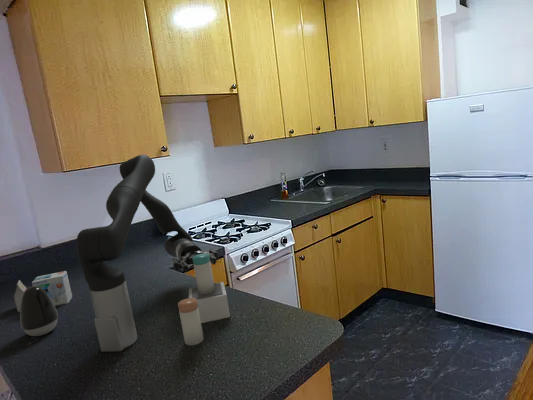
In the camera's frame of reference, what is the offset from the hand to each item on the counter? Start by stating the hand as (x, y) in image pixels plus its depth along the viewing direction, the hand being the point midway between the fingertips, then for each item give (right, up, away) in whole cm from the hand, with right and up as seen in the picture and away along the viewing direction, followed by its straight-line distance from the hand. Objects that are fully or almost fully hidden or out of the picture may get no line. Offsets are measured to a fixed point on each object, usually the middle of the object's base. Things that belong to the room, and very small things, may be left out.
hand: (200, 265), depth 119 cm
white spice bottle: (+1, -18, -15) cm, 23 cm away
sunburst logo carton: (-71, -21, +28) cm, 79 cm away
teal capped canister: (+2, -8, -1) cm, 8 cm away
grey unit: (+3, -15, 0) cm, 15 cm away
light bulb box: (-59, -19, +28) cm, 68 cm away
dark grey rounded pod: (-50, -22, +4) cm, 55 cm away
